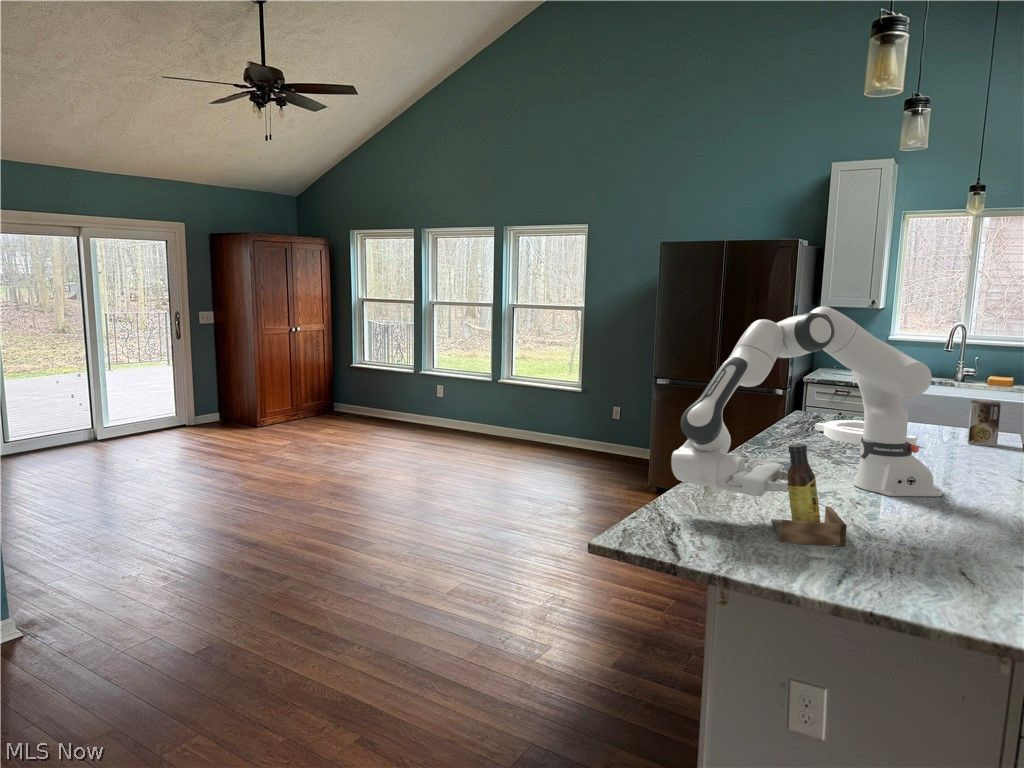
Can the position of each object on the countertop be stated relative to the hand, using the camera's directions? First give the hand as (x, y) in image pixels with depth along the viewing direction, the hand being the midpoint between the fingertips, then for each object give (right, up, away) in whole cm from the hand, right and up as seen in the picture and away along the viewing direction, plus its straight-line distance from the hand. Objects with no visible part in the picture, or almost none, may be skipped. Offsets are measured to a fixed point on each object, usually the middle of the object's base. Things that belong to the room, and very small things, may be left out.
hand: (793, 483), depth 160 cm
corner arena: (+3, -12, 0) cm, 12 cm away
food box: (+110, +1, +92) cm, 144 cm away
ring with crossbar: (+70, +2, +101) cm, 123 cm away
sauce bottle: (+4, -11, +1) cm, 11 cm away
